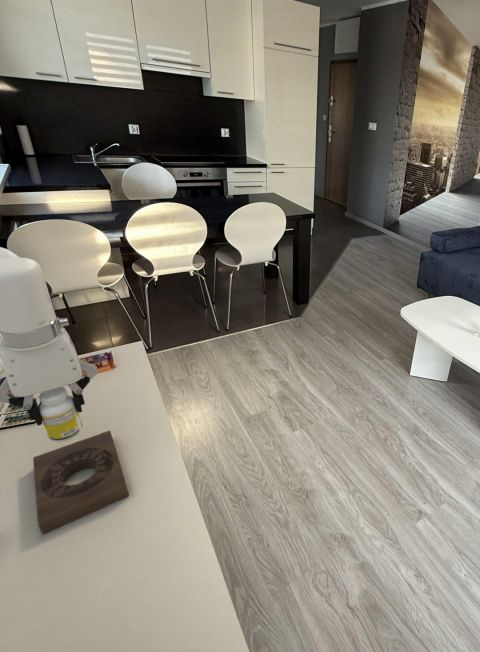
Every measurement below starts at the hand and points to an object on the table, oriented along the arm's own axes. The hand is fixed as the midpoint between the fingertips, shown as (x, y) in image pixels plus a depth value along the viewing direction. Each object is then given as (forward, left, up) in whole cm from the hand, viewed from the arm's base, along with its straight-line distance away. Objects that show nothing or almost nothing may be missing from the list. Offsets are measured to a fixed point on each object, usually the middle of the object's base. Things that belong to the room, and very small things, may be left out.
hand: (59, 413), depth 74 cm
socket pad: (0, -1, -18) cm, 18 cm away
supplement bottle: (0, 0, -5) cm, 5 cm away
